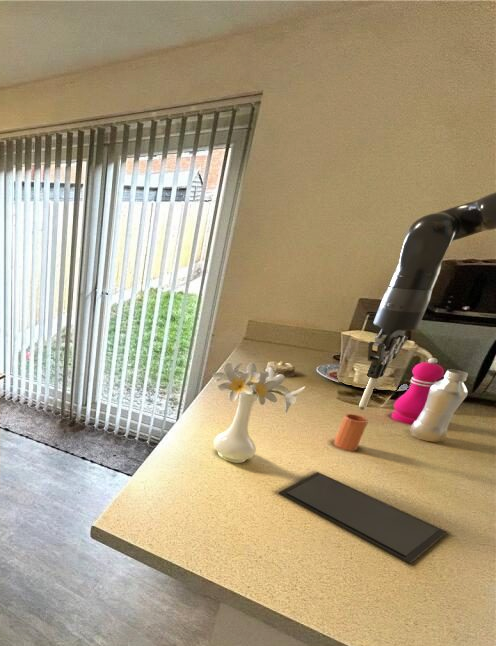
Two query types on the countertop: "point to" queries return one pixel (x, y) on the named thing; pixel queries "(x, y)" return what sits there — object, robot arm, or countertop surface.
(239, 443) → the flower vase
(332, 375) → the ceramic plate
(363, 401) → the stylus
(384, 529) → the tablet
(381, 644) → the countertop surface
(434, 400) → the plastic bottle
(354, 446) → the pen cup
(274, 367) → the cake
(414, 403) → the pepper mill
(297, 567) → the countertop surface
